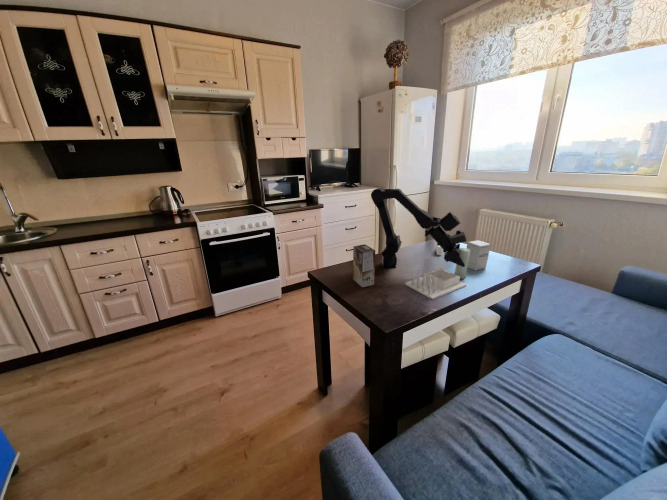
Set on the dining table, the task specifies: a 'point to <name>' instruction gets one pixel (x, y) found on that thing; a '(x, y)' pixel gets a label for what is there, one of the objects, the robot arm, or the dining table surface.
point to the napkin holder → (439, 250)
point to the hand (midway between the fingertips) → (464, 263)
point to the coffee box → (363, 265)
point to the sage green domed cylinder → (465, 258)
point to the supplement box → (478, 254)
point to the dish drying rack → (435, 283)
